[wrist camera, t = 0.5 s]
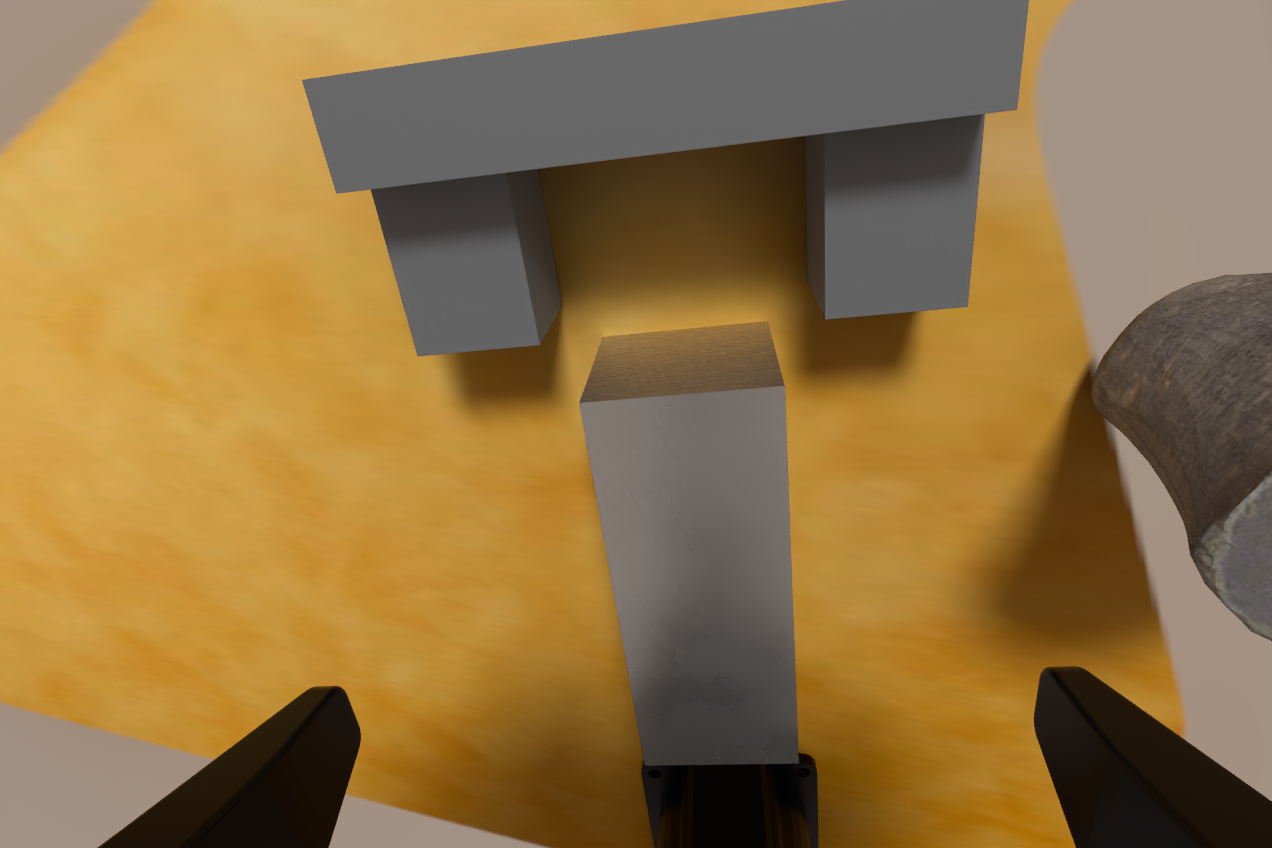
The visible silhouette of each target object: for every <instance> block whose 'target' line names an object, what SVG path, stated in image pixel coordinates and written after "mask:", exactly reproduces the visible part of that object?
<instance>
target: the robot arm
mask: <svg viewBox="0 0 1272 848" xmlns="http://www.w3.org/2000/svg"><path fill="white" fill-rule="evenodd" d="M1034 727H1035V732H1036V736H1037V739H1038V742H1039V745H1040V748H1041V750H1042V753H1043V756H1044V759H1045V762H1046V764H1047V767H1048V770H1049V773H1050V776H1051V779H1052V781H1053V784H1054V787H1055V790H1056V793H1057V795H1058V798H1059V801H1060V804H1061V807H1062V810H1063V812H1064V815H1065V818H1066V821H1067V824H1068V826H1069V829H1070V832H1071V835H1072V838H1073V840H1074V843H1075V846H1076V848H1272V801H1270V800H1269V799H1267V798H1266V797H1265V796H1263V795H1262V794H1260V793H1259V792H1258V791H1256V790H1255V789H1253V788H1252V787H1251V786H1249V785H1248V784H1246V783H1245V782H1243V781H1242V780H1241V779H1239V778H1238V777H1236V776H1235V775H1234V774H1232V773H1231V772H1229V771H1228V770H1227V769H1225V768H1224V767H1222V766H1221V765H1219V764H1218V763H1217V762H1215V761H1214V760H1212V759H1211V758H1210V757H1208V756H1207V755H1205V754H1204V753H1203V752H1201V751H1200V750H1198V749H1197V748H1196V747H1194V746H1193V745H1191V744H1190V743H1188V742H1187V741H1186V740H1184V739H1183V738H1181V737H1180V736H1179V735H1177V734H1176V733H1174V732H1173V731H1172V730H1170V729H1169V728H1167V727H1166V726H1164V725H1163V724H1162V723H1160V722H1159V721H1157V720H1156V719H1155V718H1153V717H1152V716H1150V715H1149V714H1148V713H1146V712H1145V711H1143V710H1142V709H1140V708H1139V707H1138V706H1136V705H1135V704H1133V703H1132V702H1131V701H1129V700H1128V699H1126V698H1125V697H1124V696H1122V695H1121V694H1119V693H1118V692H1116V691H1115V690H1114V689H1112V688H1111V687H1109V686H1108V685H1107V684H1105V683H1104V682H1102V681H1101V680H1100V679H1098V678H1097V677H1095V676H1094V675H1092V674H1091V673H1090V672H1088V671H1087V670H1085V669H1083V668H1080V667H1076V666H1071V667H1048V668H1045V669H1044V670H1043V671H1042V672H1041V675H1040V679H1039V686H1038V692H1037V699H1036V705H1035V712H1034ZM360 741H361V733H360V727H359V724H358V722H357V719H356V717H355V714H354V712H353V709H352V706H351V704H350V701H349V699H348V696H347V694H346V692H345V690H344V689H342V688H341V687H339V686H318V687H312V688H310V689H308V690H307V691H305V692H304V693H302V694H301V695H300V696H298V697H297V698H296V699H294V700H293V701H292V702H290V703H289V704H288V705H286V706H285V707H284V708H283V709H281V710H280V711H279V712H277V713H276V714H275V715H273V716H272V717H271V718H269V719H268V720H267V721H265V722H264V723H263V724H261V725H260V726H259V727H257V728H256V729H255V730H253V731H252V732H251V733H249V734H248V735H247V736H245V737H244V738H243V739H241V740H240V741H239V742H237V743H236V744H235V745H233V746H232V747H231V748H229V749H228V750H227V751H225V752H224V753H223V754H221V755H220V756H219V757H217V758H216V759H215V760H213V761H212V762H211V763H210V764H208V765H207V766H206V767H204V768H203V769H202V770H200V771H199V772H198V773H196V774H195V775H194V776H192V777H191V778H190V779H188V780H187V781H186V782H184V783H183V784H182V785H180V786H179V787H178V788H176V789H175V790H174V791H172V792H171V793H170V794H169V795H167V796H166V797H164V798H163V799H162V800H160V801H159V802H158V803H156V804H155V805H154V806H153V807H151V808H150V809H148V810H147V811H146V812H144V813H143V814H142V815H140V816H139V817H138V818H137V819H135V820H134V821H133V822H131V823H130V824H128V825H127V826H126V827H125V828H123V829H122V830H121V831H119V832H118V833H117V834H115V835H114V836H113V837H111V838H110V839H109V840H107V841H106V842H105V843H103V844H102V845H101V846H99V847H98V848H328V847H329V844H330V841H331V838H332V834H333V831H334V828H335V825H336V822H337V819H338V815H339V812H340V809H341V806H342V802H343V799H344V796H345V793H346V789H347V786H348V783H349V780H350V776H351V773H352V770H353V767H354V763H355V760H356V757H357V754H358V750H359V747H360ZM798 757H799V763H790V764H723V765H656V766H645V763H644V760H643V764H642V779H643V785H644V790H645V796H646V801H647V807H648V812H649V818H650V824H651V829H652V835H653V840H654V846H655V848H818V802H817V769H816V763H815V760H814V759H813V758H812V757H811V756H809V755H806V754H798Z"/></svg>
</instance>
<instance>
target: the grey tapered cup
mask: <svg viewBox="0 0 1272 848" xmlns="http://www.w3.org/2000/svg"><path fill="white" fill-rule="evenodd" d="M1091 396H1092V401H1093V403H1094V405H1095V407H1096V409H1097V410H1098V411H1099V412H1100V413H1101V414H1102V415H1103V416H1104V417H1105V418H1106V419H1107V420H1108V421H1109V422H1110V423H1112V424H1113V425H1114V426H1115V427H1116V428H1118V429H1119V430H1120V431H1121V432H1122V433H1123V434H1124V435H1125V436H1126V437H1127V438H1128V439H1129V440H1130V441H1131V442H1132V443H1133V444H1134V446H1135V447H1136V448H1137V449H1138V450H1139V451H1140V453H1141V454H1142V455H1143V456H1144V457H1145V458H1146V459H1147V461H1148V462H1149V463H1150V465H1151V466H1152V468H1153V469H1154V471H1155V472H1156V474H1157V475H1158V476H1159V478H1160V479H1161V481H1162V482H1163V484H1164V485H1165V487H1166V489H1167V491H1168V492H1169V494H1170V496H1171V498H1172V500H1173V501H1174V503H1175V505H1176V507H1177V509H1178V511H1179V513H1180V515H1181V517H1182V520H1183V522H1184V525H1185V529H1186V532H1187V537H1188V543H1189V550H1190V555H1191V557H1192V559H1193V561H1194V563H1195V565H1196V567H1197V569H1198V571H1199V573H1200V575H1201V576H1202V579H1203V581H1204V583H1205V584H1206V585H1207V586H1208V587H1209V588H1210V589H1211V591H1212V592H1213V593H1214V594H1215V595H1216V596H1217V597H1218V598H1219V599H1220V600H1221V601H1222V602H1223V604H1224V605H1225V606H1226V607H1227V608H1228V609H1229V610H1230V611H1231V612H1233V613H1234V614H1235V615H1236V616H1237V617H1238V618H1239V619H1240V620H1241V621H1242V622H1243V623H1244V624H1245V625H1246V626H1247V627H1248V629H1250V631H1251V632H1253V633H1256V634H1258V635H1260V636H1262V637H1264V638H1267V639H1269V640H1271V641H1272V273H1262V274H1248V275H1224V276H1220V277H1216V278H1213V279H1209V280H1205V281H1201V282H1197V283H1193V284H1191V285H1188V286H1186V287H1184V288H1181V289H1179V290H1177V291H1174V292H1172V293H1171V294H1169V295H1167V296H1165V297H1164V298H1162V299H1160V300H1159V301H1157V302H1155V303H1154V304H1152V305H1151V306H1149V307H1148V308H1147V309H1146V310H1144V311H1143V312H1142V313H1140V314H1139V315H1138V316H1137V317H1136V318H1135V319H1134V320H1133V321H1132V322H1131V323H1130V324H1129V325H1128V327H1126V328H1125V330H1124V331H1123V332H1122V333H1121V334H1120V335H1119V337H1118V338H1117V339H1116V340H1115V342H1114V343H1113V344H1112V346H1111V347H1110V348H1109V350H1108V351H1107V352H1106V354H1105V355H1104V356H1103V358H1102V360H1101V362H1100V364H1099V366H1098V368H1097V371H1096V373H1095V376H1094V379H1093V383H1092V387H1091Z"/></svg>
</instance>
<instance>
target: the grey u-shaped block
mask: <svg viewBox="0 0 1272 848" xmlns="http://www.w3.org/2000/svg"><path fill="white" fill-rule="evenodd" d="M1028 3H1029V0H845V1H838V2H831V3H824V4H818V5H811V6H804V7H797V8H790V9H783V10H777V11H770V12H763V13H756V14H749V15H742V16H736V17H729V18H722V19H715V20H708V21H702V22H695V23H688V24H681V25H674V26H667V27H661V28H654V29H647V30H640V31H633V32H627V33H620V34H613V35H606V36H599V37H592V38H586V39H579V40H572V41H565V42H558V43H551V44H545V45H538V46H531V47H524V48H517V49H511V50H504V51H497V52H490V53H483V54H476V55H470V56H463V57H456V58H449V59H442V60H436V61H429V62H422V63H415V64H408V65H401V66H395V67H388V68H381V69H374V70H367V71H360V72H354V73H347V74H340V75H333V76H326V77H320V78H313V79H306V80H302V82H303V85H304V88H305V92H306V95H307V98H308V102H309V105H310V108H311V111H312V115H313V118H314V121H315V125H316V128H317V131H318V135H319V138H320V141H321V144H322V148H323V151H324V154H325V158H326V161H327V164H328V168H329V171H330V174H331V177H332V181H333V184H334V187H335V191H336V194H337V193H346V192H354V191H362V190H370V189H371V192H372V196H373V199H374V203H375V206H376V210H377V213H378V217H379V220H380V224H381V228H382V231H383V235H384V238H385V242H386V245H387V249H388V252H389V256H390V260H391V263H392V267H393V270H394V274H395V277H396V281H397V284H398V288H399V292H400V295H401V299H402V302H403V306H404V309H405V313H406V316H407V320H408V324H409V327H410V331H411V334H412V338H413V341H414V345H415V348H416V352H417V356H426V355H437V354H448V353H459V352H470V351H481V350H492V349H504V348H515V347H526V346H537V345H540V344H541V342H542V341H543V339H544V337H545V335H546V333H547V332H548V330H549V328H550V326H551V325H552V323H553V321H554V319H555V318H556V316H557V314H558V312H559V311H560V309H561V307H562V301H561V295H560V290H559V284H558V278H557V273H556V267H555V261H554V256H553V250H552V244H551V239H550V233H549V227H548V222H547V216H546V211H545V205H544V199H543V194H542V188H541V182H540V177H539V171H538V169H540V168H548V167H556V166H565V165H573V164H581V163H589V162H597V161H605V160H613V159H621V158H629V157H638V156H646V155H654V154H662V153H670V152H678V151H686V150H694V149H702V148H711V147H719V146H727V145H735V144H743V143H751V142H759V141H767V140H775V139H784V138H792V137H800V136H805V171H806V234H807V282H808V285H809V287H810V289H811V291H812V293H813V295H814V297H815V299H816V301H817V303H818V305H819V307H820V310H821V312H822V314H823V316H824V318H825V320H826V319H837V318H848V317H860V316H871V315H882V314H893V313H904V312H915V311H926V310H937V309H949V308H960V307H968V298H969V287H970V275H971V264H972V253H973V242H974V231H975V220H976V208H977V197H978V186H979V175H980V164H981V153H982V141H983V130H984V119H985V114H986V113H994V112H1003V111H1011V110H1017V105H1018V96H1019V87H1020V77H1021V68H1022V59H1023V50H1024V40H1025V31H1026V22H1027V13H1028Z"/></svg>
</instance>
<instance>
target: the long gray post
mask: <svg viewBox="0 0 1272 848" xmlns="http://www.w3.org/2000/svg"><path fill="white" fill-rule="evenodd" d="M579 404H580V410H581V415H582V421H583V426H584V432H585V437H586V443H587V448H588V454H589V459H590V465H591V470H592V476H593V481H594V487H595V493H596V498H597V504H598V509H599V515H600V520H601V526H602V531H603V537H604V542H605V548H606V553H607V559H608V564H609V570H610V575H611V581H612V587H613V592H614V598H615V603H616V609H617V614H618V620H619V625H620V631H621V636H622V642H623V647H624V653H625V658H626V664H627V669H628V675H629V681H630V686H631V692H632V697H633V703H634V708H635V714H636V719H637V725H638V730H639V736H640V741H641V747H642V752H643V758H644V763H645V766H656V765H723V764H790V763H799V757H798V730H797V703H796V676H795V648H794V621H793V594H792V567H791V539H790V512H789V485H788V458H787V431H786V403H785V385H784V381H783V377H782V373H781V369H780V366H779V362H778V358H777V354H776V350H775V347H774V343H773V339H772V335H771V331H770V328H769V324H768V321H766V322H755V323H745V324H734V325H723V326H713V327H702V328H692V329H681V330H670V331H660V332H649V333H638V334H628V335H617V336H606V337H602V340H601V343H600V346H599V349H598V352H597V354H596V357H595V360H594V363H593V366H592V369H591V371H590V374H589V377H588V380H587V383H586V386H585V388H584V391H583V394H582V397H581V400H580V402H579Z"/></svg>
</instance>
